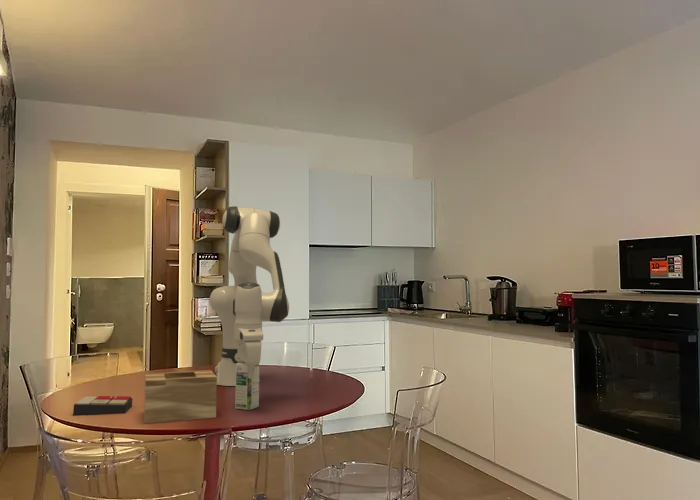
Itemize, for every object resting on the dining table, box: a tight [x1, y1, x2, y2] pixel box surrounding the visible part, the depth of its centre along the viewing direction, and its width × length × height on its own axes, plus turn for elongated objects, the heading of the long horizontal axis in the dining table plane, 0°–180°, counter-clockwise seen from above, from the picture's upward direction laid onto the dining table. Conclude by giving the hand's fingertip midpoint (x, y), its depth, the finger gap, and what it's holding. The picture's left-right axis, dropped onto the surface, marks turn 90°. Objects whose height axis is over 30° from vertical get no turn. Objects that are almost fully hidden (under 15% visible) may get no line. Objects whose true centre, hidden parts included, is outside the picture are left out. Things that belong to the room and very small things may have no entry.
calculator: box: [72, 395, 133, 417], centre depth 171 cm, size 11×4×15 cm
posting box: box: [143, 369, 218, 424], centre depth 166 cm, size 14×20×12 cm
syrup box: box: [234, 362, 260, 411], centre depth 175 cm, size 6×6×14 cm
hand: (247, 375), depth 175 cm, fingers closed on syrup box, 8 cm apart
